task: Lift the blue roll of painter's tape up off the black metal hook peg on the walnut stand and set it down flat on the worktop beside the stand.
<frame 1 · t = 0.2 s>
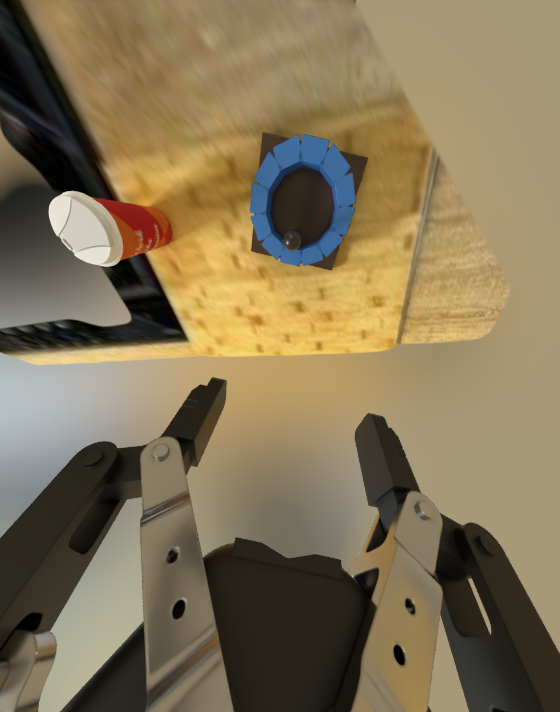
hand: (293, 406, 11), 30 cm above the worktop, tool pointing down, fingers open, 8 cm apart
paper cup: (156, 227, 35), on the worktop
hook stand: (302, 210, 31), on the worktop
tape: (301, 210, 30), point 1 cm above the worktop, touching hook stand
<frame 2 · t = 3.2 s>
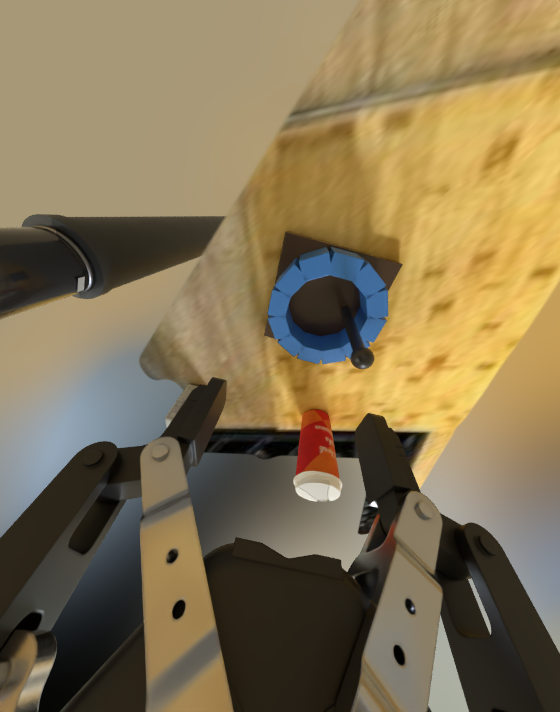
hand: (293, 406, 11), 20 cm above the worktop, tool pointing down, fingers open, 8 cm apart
medicine box: (199, 397, 43), on the worktop
paper cup: (315, 417, 42), on the worktop
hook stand: (323, 302, 28), on the worktop
tape: (323, 305, 27), point 1 cm above the worktop, touching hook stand
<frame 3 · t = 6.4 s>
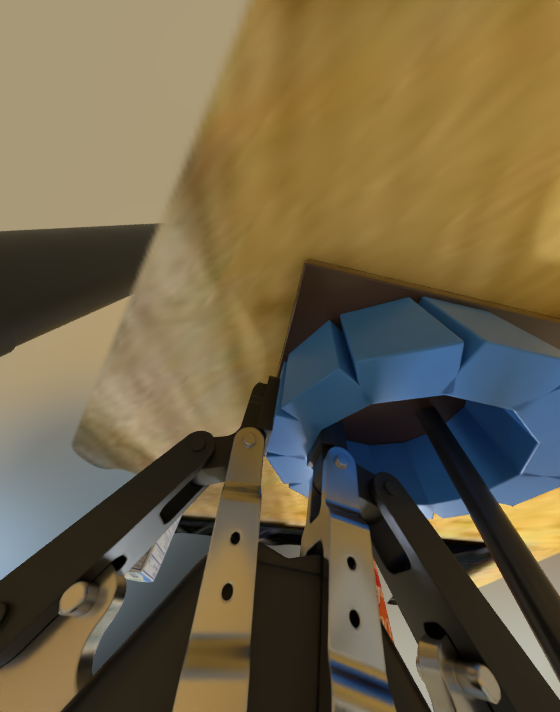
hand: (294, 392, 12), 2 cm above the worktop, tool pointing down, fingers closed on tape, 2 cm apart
medicine box: (171, 488, 30), on the worktop
paper cup: (343, 517, 28), on the worktop
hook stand: (376, 389, 14), on the worktop
tape: (381, 402, 13), point 1 cm above the worktop, touching gripper, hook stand
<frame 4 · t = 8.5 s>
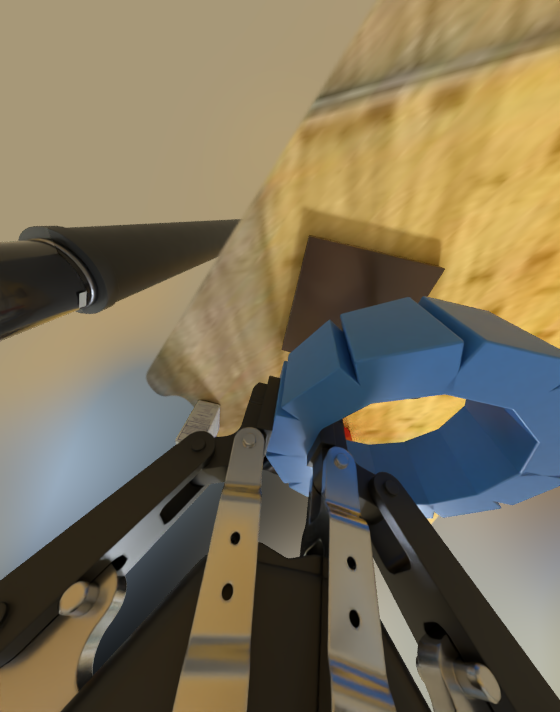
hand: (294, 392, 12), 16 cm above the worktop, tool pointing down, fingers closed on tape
medicine box: (210, 413, 41), on the worktop
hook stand: (348, 312, 25), on the worktop
tape: (381, 402, 13), point 15 cm above the worktop, touching gripper
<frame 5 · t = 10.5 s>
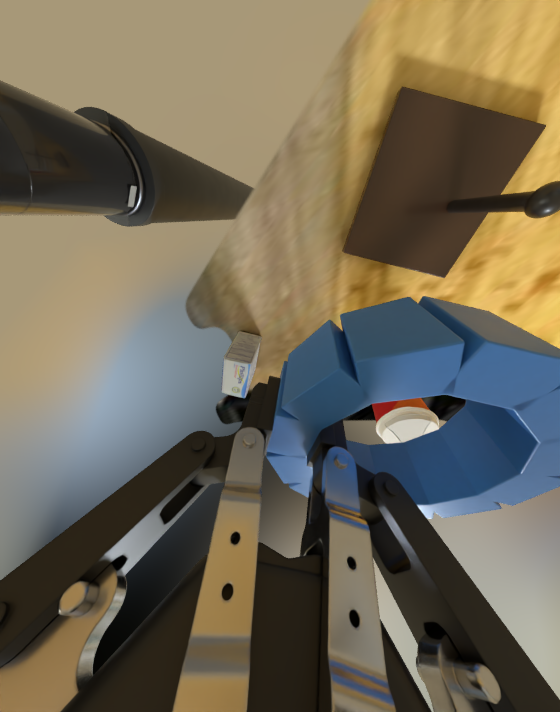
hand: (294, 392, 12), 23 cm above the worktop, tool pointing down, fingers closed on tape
medicine box: (248, 349, 39), on the worktop
paper cup: (379, 367, 38), on the worktop
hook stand: (422, 200, 23), on the worktop
tape: (382, 402, 13), point 22 cm above the worktop, touching gripper
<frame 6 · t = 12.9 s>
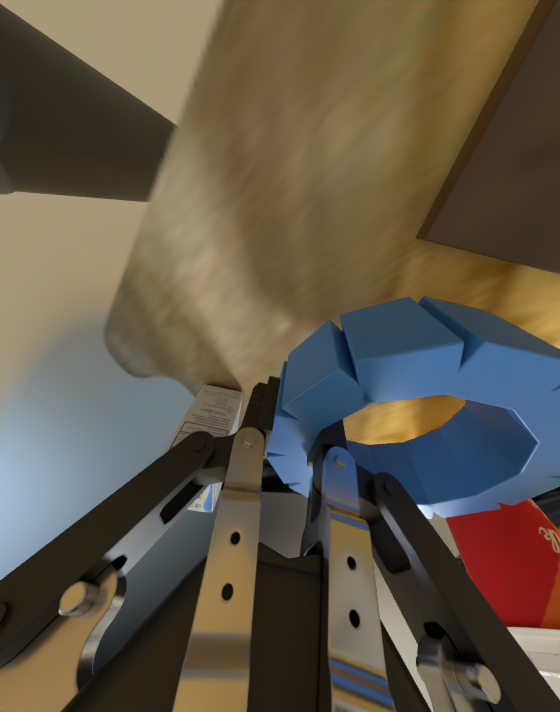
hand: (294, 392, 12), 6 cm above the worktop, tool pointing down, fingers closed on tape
medicine box: (223, 408, 23), on the worktop
paper cup: (444, 440, 22), on the worktop
tape: (381, 402, 13), point 5 cm above the worktop, touching gripper
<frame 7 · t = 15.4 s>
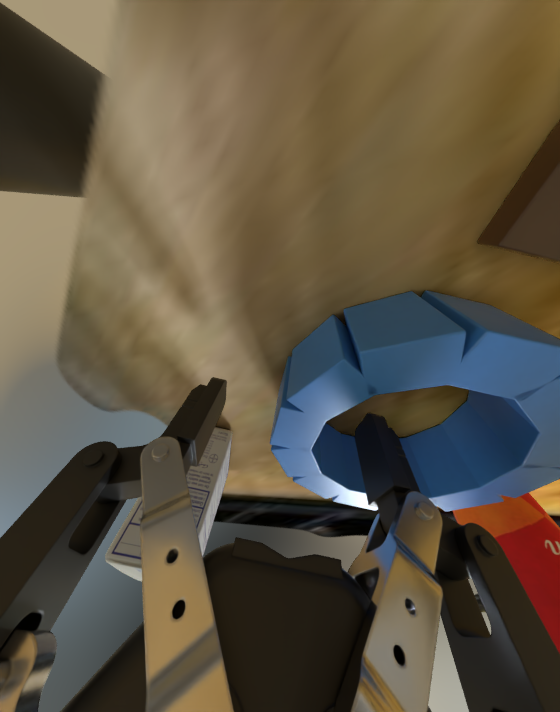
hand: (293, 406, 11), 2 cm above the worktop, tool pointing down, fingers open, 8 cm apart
medicine box: (210, 445, 20), on the worktop
paper cup: (480, 488, 18), on the worktop
tape: (384, 397, 13), on the worktop
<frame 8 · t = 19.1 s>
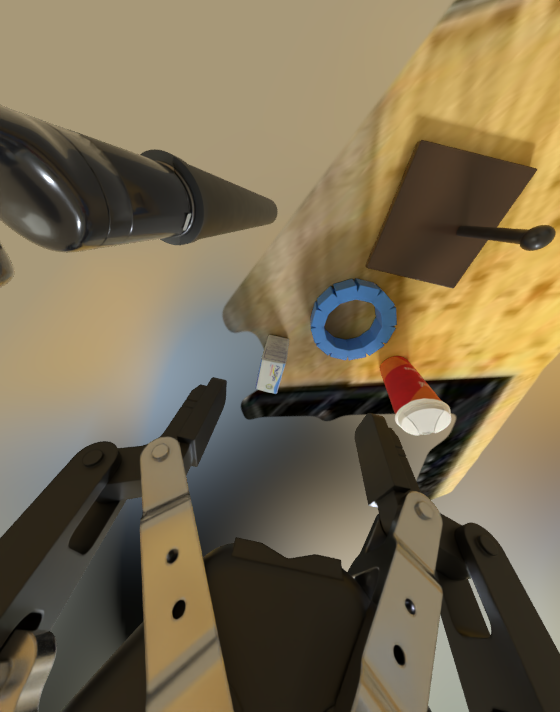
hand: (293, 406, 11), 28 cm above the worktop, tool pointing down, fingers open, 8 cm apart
medicine box: (275, 350, 44), on the worktop
paper cup: (393, 366, 42), on the worktop
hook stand: (435, 225, 28), on the worktop
tape: (348, 317, 37), on the worktop
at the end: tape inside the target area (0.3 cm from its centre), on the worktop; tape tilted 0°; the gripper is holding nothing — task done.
